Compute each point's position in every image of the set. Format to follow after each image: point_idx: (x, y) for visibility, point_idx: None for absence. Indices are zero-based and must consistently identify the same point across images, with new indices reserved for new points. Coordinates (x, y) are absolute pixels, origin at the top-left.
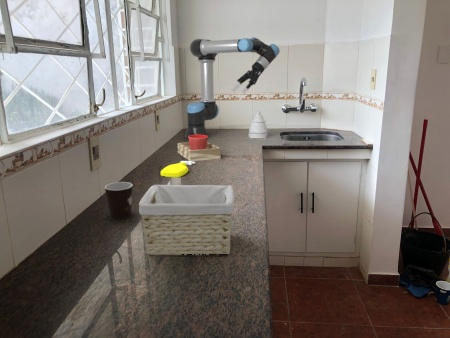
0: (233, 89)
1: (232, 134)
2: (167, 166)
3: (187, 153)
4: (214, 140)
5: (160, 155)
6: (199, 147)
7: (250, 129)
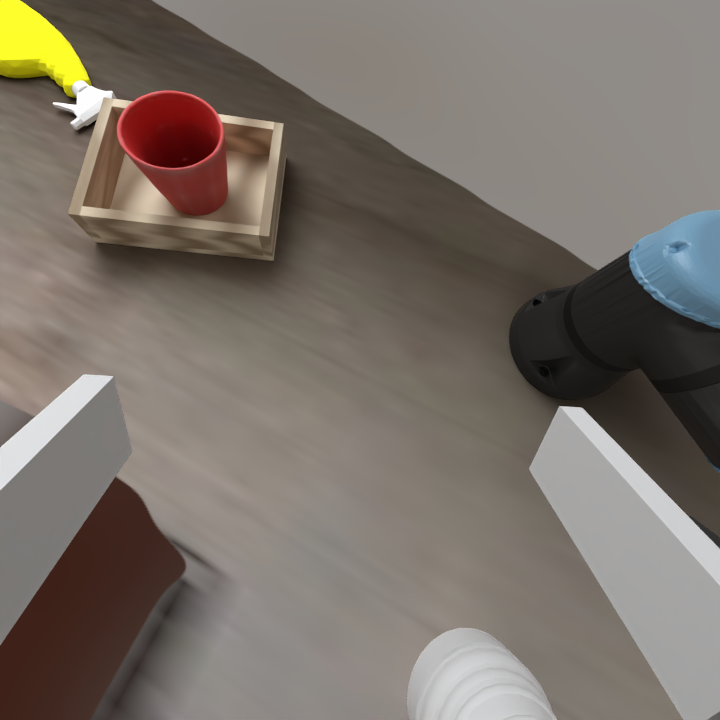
0: (560, 444)
1: None
2: (39, 18)
3: None
4: (461, 392)
5: (275, 98)
6: (149, 155)
7: (488, 659)
